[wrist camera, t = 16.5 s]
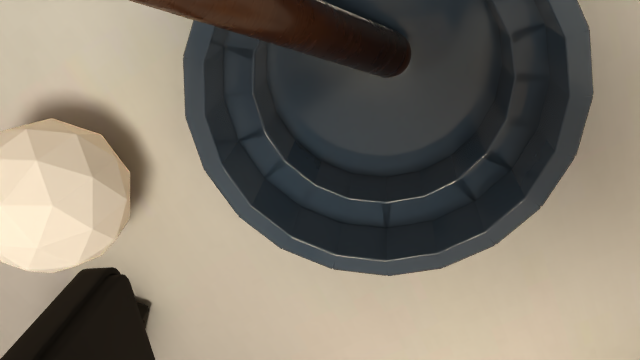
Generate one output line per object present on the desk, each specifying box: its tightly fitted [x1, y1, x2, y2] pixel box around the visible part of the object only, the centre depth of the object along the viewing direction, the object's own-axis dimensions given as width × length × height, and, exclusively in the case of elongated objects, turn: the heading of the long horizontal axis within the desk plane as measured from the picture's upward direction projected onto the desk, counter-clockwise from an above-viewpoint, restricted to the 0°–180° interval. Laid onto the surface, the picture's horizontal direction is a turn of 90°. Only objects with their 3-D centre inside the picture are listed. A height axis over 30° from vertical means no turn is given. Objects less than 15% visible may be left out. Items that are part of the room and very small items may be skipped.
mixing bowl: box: [183, 0, 593, 276], centre depth 23 cm, size 15×15×6 cm
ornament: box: [0, 118, 130, 273], centre depth 26 cm, size 7×7×8 cm
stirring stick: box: [130, 0, 412, 78], centre depth 19 cm, size 2×2×16 cm
